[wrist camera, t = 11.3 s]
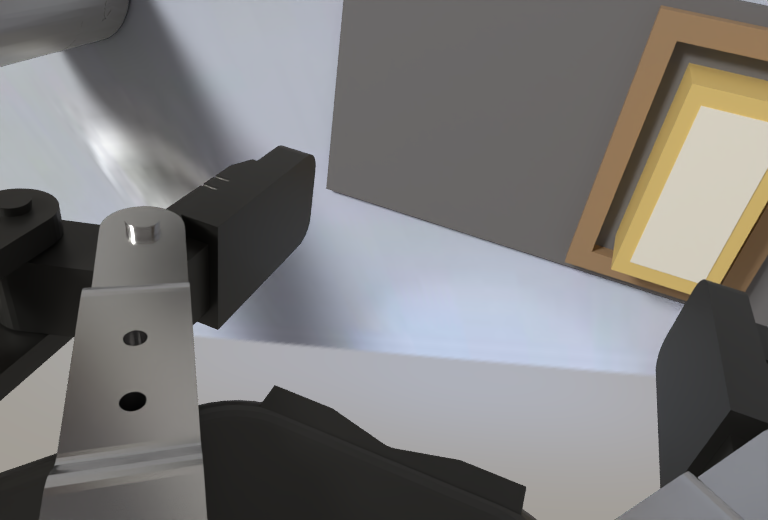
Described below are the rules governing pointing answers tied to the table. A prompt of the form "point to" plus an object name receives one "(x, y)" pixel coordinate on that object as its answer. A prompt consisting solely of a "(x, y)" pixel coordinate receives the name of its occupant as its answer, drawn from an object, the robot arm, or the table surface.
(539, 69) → the mat
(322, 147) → the table surface
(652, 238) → the card box
